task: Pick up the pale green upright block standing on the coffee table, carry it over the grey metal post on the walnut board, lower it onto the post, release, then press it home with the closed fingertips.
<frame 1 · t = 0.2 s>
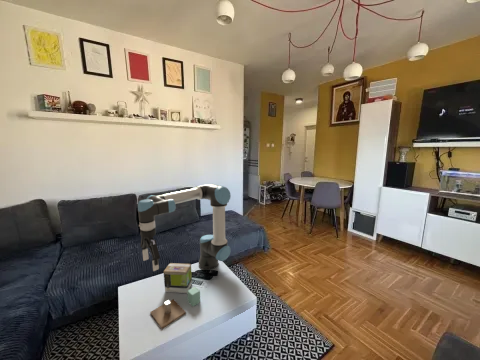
hand: (150, 264, 116), 27 cm above the table, fingers open, 13 cm apart
board: (168, 313, 117), on the table
post: (167, 307, 116), on the board, point 4 cm above the table
pale green upright block: (194, 301, 125), on the table
tea box: (178, 287, 137), on the table
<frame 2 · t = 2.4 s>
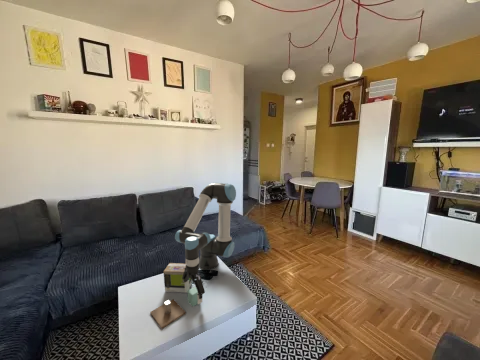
hand: (193, 296, 124), 4 cm above the table, fingers open, 13 cm apart
nothing on the table moved.
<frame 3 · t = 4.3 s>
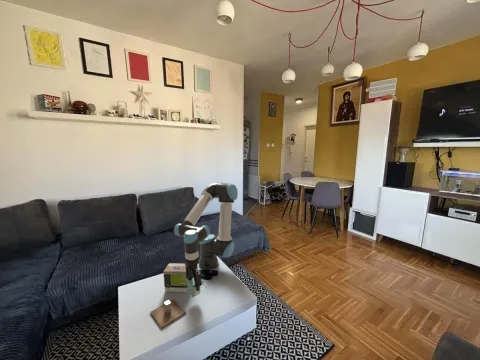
hand: (194, 292, 124), 6 cm above the table, fingers closed on pale green upright block, 5 cm apart
pale green upright block: (194, 292, 124), point 6 cm above the table, touching gripper
everything else where it was.
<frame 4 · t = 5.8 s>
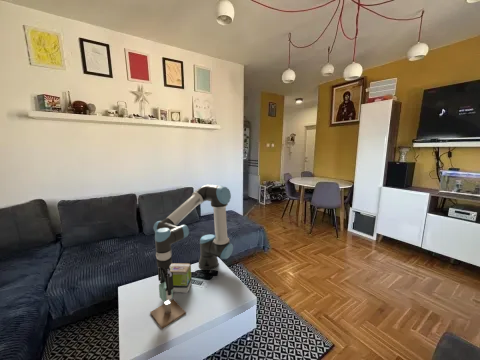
hand: (166, 296, 114), 11 cm above the table, fingers closed on pale green upright block, 5 cm apart
pale green upright block: (166, 297, 114), point 11 cm above the table, touching gripper
everything else where it was.
when the fingers open (3 cm above the table, at t = 7.3 s): pale green upright block drops 1 cm, resting on board.
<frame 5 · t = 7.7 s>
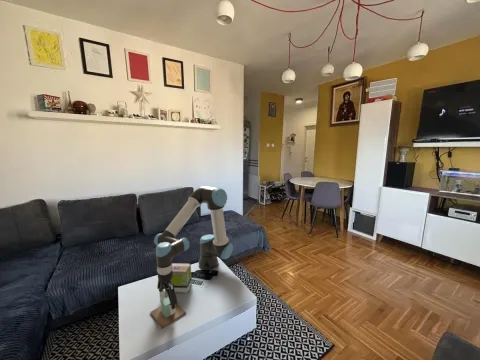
hand: (167, 307, 116), 4 cm above the table, fingers open, 11 cm apart
pale green upright block: (168, 312, 116), point 1 cm above the table, touching board
everything else where it was.
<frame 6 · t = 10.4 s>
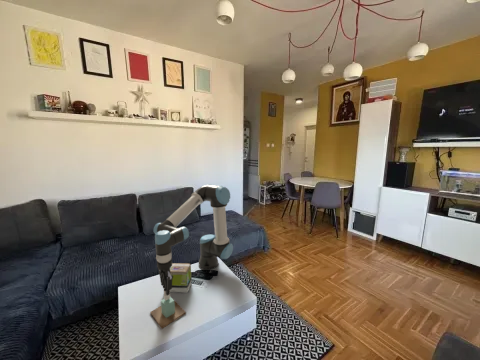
hand: (167, 298, 115), 9 cm above the table, fingers closed
nothing on the table moved.
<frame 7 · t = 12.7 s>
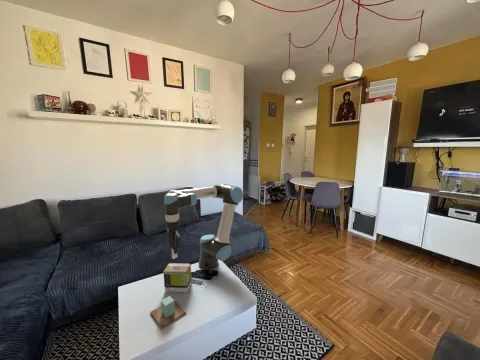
hand: (174, 257, 124), 26 cm above the table, fingers closed
nothing on the table moved.
at the end: pale green upright block 0.6 cm from the post (horizontally); pale green upright block point 1.0 cm above the table; the gripper is holding nothing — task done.
